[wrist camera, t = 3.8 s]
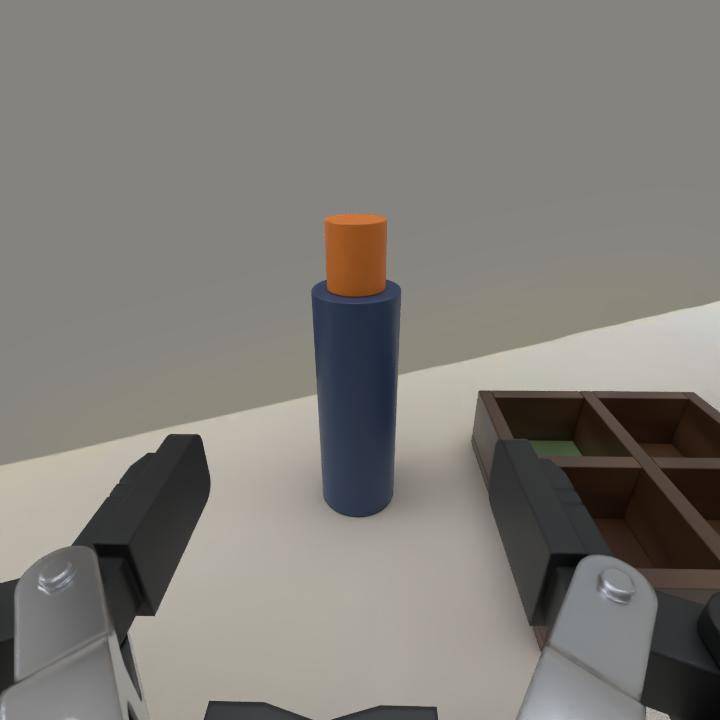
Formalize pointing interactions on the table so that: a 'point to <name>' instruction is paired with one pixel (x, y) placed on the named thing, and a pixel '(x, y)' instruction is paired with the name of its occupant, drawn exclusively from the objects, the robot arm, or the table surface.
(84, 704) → the robot arm
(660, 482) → the organizer
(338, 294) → the bottle
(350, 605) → the table surface
